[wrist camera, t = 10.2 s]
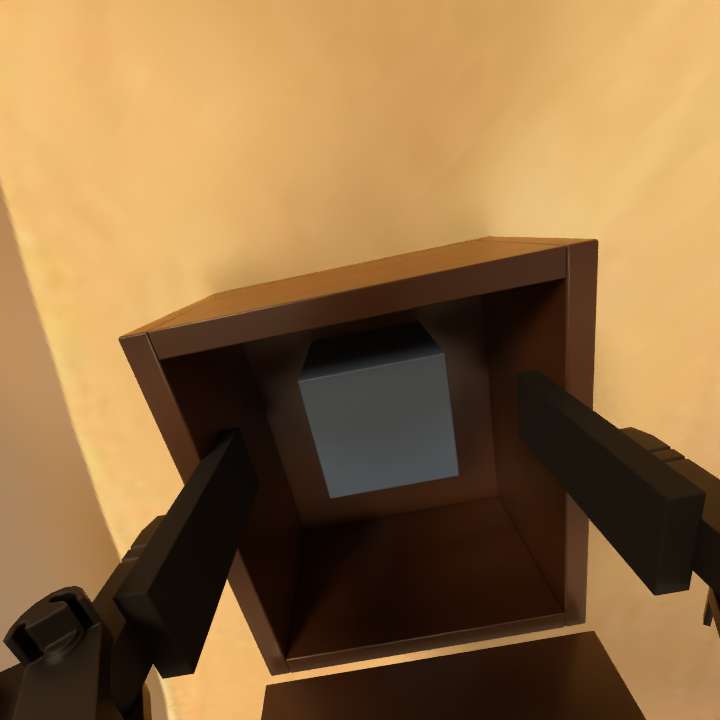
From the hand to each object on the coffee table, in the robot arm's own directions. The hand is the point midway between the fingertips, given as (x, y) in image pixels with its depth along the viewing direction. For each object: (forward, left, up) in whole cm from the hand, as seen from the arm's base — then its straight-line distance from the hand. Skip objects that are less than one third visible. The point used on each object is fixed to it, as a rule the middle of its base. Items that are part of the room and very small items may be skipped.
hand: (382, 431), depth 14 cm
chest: (+2, 0, -6) cm, 6 cm away
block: (0, 0, -5) cm, 5 cm away
